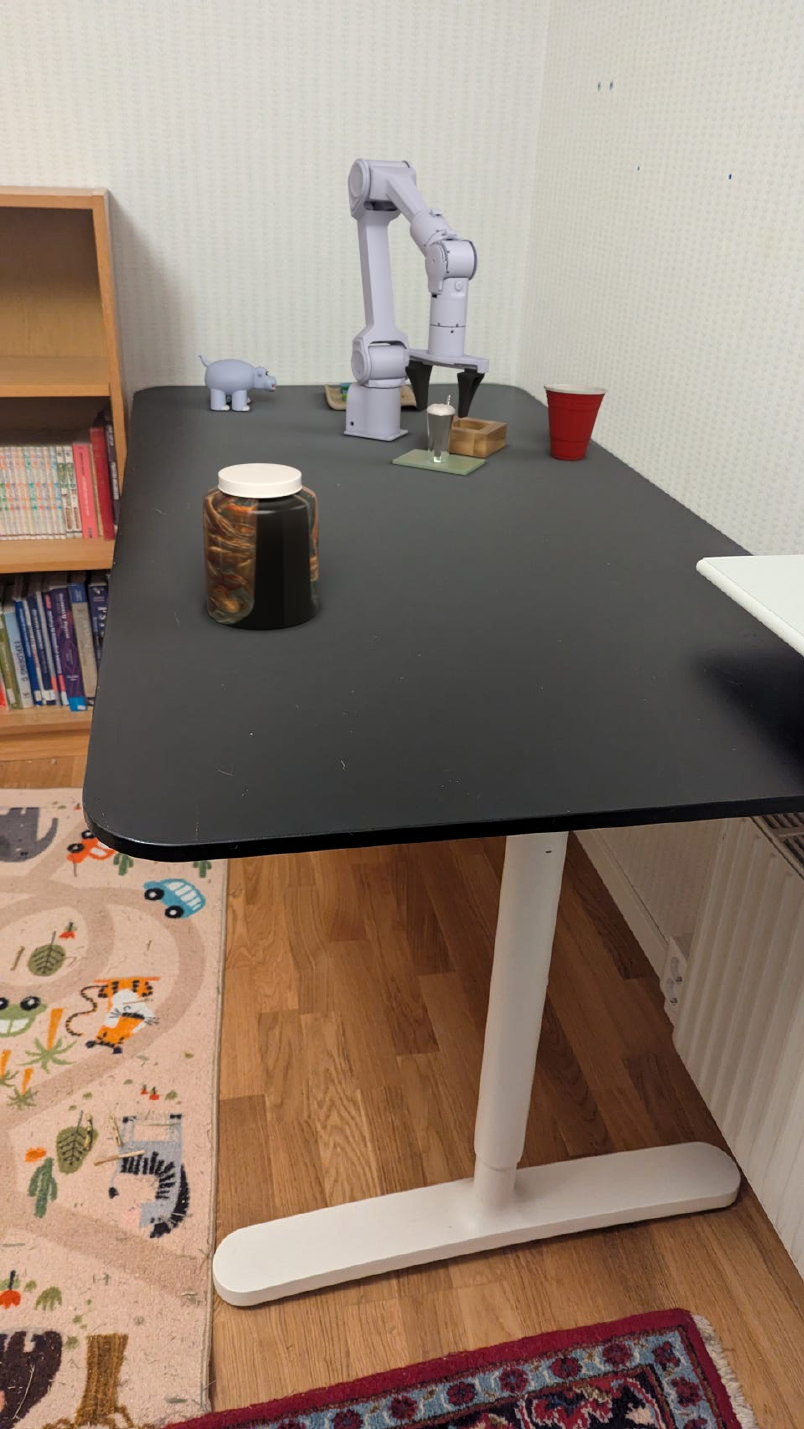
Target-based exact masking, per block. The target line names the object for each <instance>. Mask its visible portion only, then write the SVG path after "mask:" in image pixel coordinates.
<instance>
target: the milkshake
mask: <svg viewBox="0 0 804 1429" xmlns="http://www.w3.org/2000/svg"><path fill="white" fill-rule="evenodd" d="M450 400H451V395H450V394H448V395H447V397H446V402H445V404H444V403H432V404H431V405H429V406H427V409H426V418H427V419H426V420H427V421H426V422H427V451H428V459H429V461H432V462H439V463H441V462H446V461H448V457H449V454H450V452H449V450H450V442H451V435H452V428H453V421H454V416H456V415H455V414H456V408H454V407H453V406H452V405H450Z"/></svg>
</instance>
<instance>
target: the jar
mask: <svg viewBox="0 0 804 1429" xmlns="http://www.w3.org/2000/svg"><path fill="white" fill-rule="evenodd" d="M302 478H303V477H302V472H301V471H300V470H299V469H297V468H295V467H292V466H289V465H285V464H278V463H266V462H265V463H263V462H255V463H254V462H253V463H241V464H233V465H231V466H226V467H224V468H222V469H220V470H219V471H218V473H217V485H216V486H214V487H211V488H210V489H208V490H207V491H206V492H205V494H204V496H203V500H202V524H203V525H202V527H203V528H202V530H203V531H202V532H203V553H204V574H205V590H206V605H207V607H206V608H207V614H208V615H209V616H210V617H211V618H212V619H213V620H214V621H216V622H218V623H220V624H222V625H226V626H229V627H234V628H238V629H244V630H245V629H246V630H275V629H276V630H277V629H283V628H289V627H294V626H296V625H300V624H302V623H306V622H307V621H309V620H311V619H312V618H314V617H315V616H316V615H317V613H318V611H319V588H320V587H319V580H320V578H319V574H320V572H319V570H320V568H319V565H320V564H319V563H320V560H319V559H320V558H319V557H320V556H319V554H320V552H319V549H320V548H319V546H320V545H319V544H320V543H319V542H320V541H319V539H320V538H319V535H320V534H319V533H320V532H319V505H318V499H317V495H316V493H315V492H314V491H313V490H312V489H310V488H309V487H307V486H304V485H303V483H302V480H303V479H302Z"/></svg>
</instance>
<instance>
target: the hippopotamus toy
mask: <svg viewBox="0 0 804 1429" xmlns="http://www.w3.org/2000/svg"><path fill="white" fill-rule="evenodd" d="M197 357H198V358H200V361H201V363H202V365H203V366H204V367H205V368H206V369H205V372H204V377H203V378H204V384H205V387H206V389H208V390H209V391H210V409H211V410H213V411H226V412H227V411H229V410H230V406H229V405H228V403H231V409H232V410H233V411H235V412H248V411H250V406H249V405H248V404H249V403H251V401H252V400H251V399H250V398H249V394H250V392H252V391H253V390H254V389H256V390H257V389H258V390H264V391H266V392H269V393H274V392H276V390H277V387H276V385H278V381H277V379H276V375H269V370H268V369H267V368H266V367H265V366H264V367H263V366H261V365H258V367H254V365H253V364H252V363H249V362H246V361H245V360H241V359H238V358H237V359H235V358H224V359H219V360H215V361H212V362H211V361H208V360H207V359H206V358H205V357H204V356H203V355H201V354H199V355H198V356H197ZM248 393H249V394H248Z"/></svg>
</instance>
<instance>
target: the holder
mask: <svg viewBox="0 0 804 1429" xmlns="http://www.w3.org/2000/svg"><path fill="white" fill-rule="evenodd" d="M507 430H508V423H507V422H503V421H502V422H501V421H495V420H487V419H480V418H474V417H468V416H467V417H464V418H458V415H454V421H453V428H452V435H451V442H450V450H449V454H451V453H452V454H455V455H462V456H468V457H470V456H471V457H474V458H481V459H482V458H483V459H485V458H487V457H489V456H491V455H493V453H495V452H497V451H498V450H500V449H502V448H504V447H506V440H507Z"/></svg>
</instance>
